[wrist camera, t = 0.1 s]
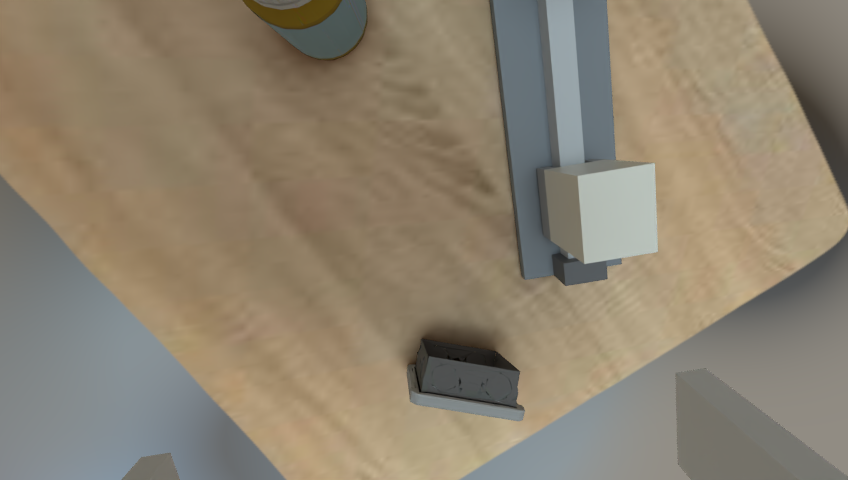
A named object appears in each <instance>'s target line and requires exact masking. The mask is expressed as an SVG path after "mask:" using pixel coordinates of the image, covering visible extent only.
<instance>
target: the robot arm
mask: <svg viewBox="0 0 848 480" xmlns="http://www.w3.org/2000/svg"><path fill="white" fill-rule="evenodd" d="M676 411H677V447H678V448H677V450H678V465H679V466H680V467H681V468H682V469H683V471H684V472H685V473H686V474H687V476H688V477H689V478H690V479H691V480H848V476H846V475H845V474H844V473H842V472H841V471H840V470H839V469H837V468H836V467H835V466H833V465H832V464H831V463H829V462H828V461H827V460H825V459H824V458H823V457H822V456H820V455H819V454H817V453H816V452H815V451H814V450H812V449H811V448H810V447H808V446H807V445H806V444H804V443H803V442H802V441H800V440H799V439H798V438H797V437H795V436H794V435H793V434H791V433H790V432H789V431H787V430H786V429H785V428H783V427H782V426H781V425H780V424H778V423H777V422H775V421H774V420H773V419H771V418H770V417H769V416H768V415H766V414H765V413H764V412H762V411H761V410H760V409H758V408H757V407H756V406H755V405H753V404H752V403H751V402H749V401H748V400H747V399H745V398H744V397H743V396H741V395H740V394H739V393H737V392H736V391H735V390H733V389H732V388H731V387H729V386H728V385H727V384H726V383H724V382H723V381H722V380H720V379H719V378H718V377H716V376H715V375H714V374H712V373H711V372H710V371H709V370H707V369H706V368H704V369H698V370H691V371H685V372H679V373H676ZM122 480H180V479H179V476H178V473H177V470H176V468H175V465H174V462H173V459H172V456H171V453H165V454H159V455H153V456H147V457H141V458H140V459H139V461H138V462H137V463H136V464H135V465H134V466H133V467H132V468H131V470H130V471H129V472H128V473H127V474H126V475H125V477H124V478H123V479H122Z"/></svg>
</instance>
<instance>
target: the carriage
mask: <svg viewBox="0 0 848 480" xmlns="http://www.w3.org/2000/svg"><path fill="white" fill-rule="evenodd" d="M537 176H538V186H539V196H540V206H541V216H542V225H543V235H544V236H545V237H546V238H548V239H549V240H551V241H552V242H553V243H555V244H556V245H558V246H559V247H561V248H562V249H564V250H565V251H566V252H568V253H569V254H571V255H572V256H574V257H575V258H577V259H578V260H579V261H581V262H582V263H584V264H588V263H594V262H600V261H606V260H612V259H618V258H624V257H630V256H636V255H642V254H649V253H655V252H658V244H657V216H656V187H655V163H647V162H634V161H620V160H606V159H590V160H585V163H581V164H575V165H569V166H563V167H557V168H555V167H549V166H548V167H542V168H537Z"/></svg>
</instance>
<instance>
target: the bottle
mask: <svg viewBox="0 0 848 480" xmlns="http://www.w3.org/2000/svg"><path fill="white" fill-rule="evenodd" d="M243 2H244V3H245V4H246V5H247V6H248V7H249V8H250V10H251V11H252V12H254V13H255V14H256V15H257V16H258V17H260V18H261V19H262V20H263V21H264V22H266V23H267V24H268V25H269V26H270V27H272V28H273V29H274V30H275V31H276V32H278V33H279V34H280V35H281V36H282V37H284V38H285V39H286V40H287V41H288V42H290V43H291V44H292V45H293V46H295V47H296V48H297V49H298V50H300V51H301V52H302V53H304V54H306V55H308V56H310V57H313V58H316V59H320V60H333V59H336V58H339V57H342V56H345V55H346V54H348V53H349V52H350V51H352V50H353V49H354V48H355V47H356V46H357V44H358V43H359V41H360V40H361V38H362V37H363V35H364V31H365V28H366V24H367V6H366V2H365V0H243Z"/></svg>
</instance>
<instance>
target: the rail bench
mask: <svg viewBox="0 0 848 480" xmlns="http://www.w3.org/2000/svg"><path fill="white" fill-rule="evenodd" d="M490 7H491V16H492V24H493V33H494V42H495V50H496V59H497V68H498V76H499V85H500V93H501V102H502V111H503V119H504V128H505V137H506V145H507V154H508V162H509V171H510V180H511V188H512V197H513V206H514V214H515V223H516V231H517V240H518V249H519V257H520V266H521V275H522V277H523V278H524V279H525V280H527V279H533V278H539V277H545V276H551V275H554V276H555V277H557V278H558V279H559V280H560V281H561V282H562V283H563V284H564V285H565V286H568V285H574V284H580V283H587V282H593V281H599V280H605V279H607V266H612V265H618V264H622V263H621V258H618V259H612V260H606V261H600V262H594V263H588V264H584V263H582V262H581V261H579V260H578V259H577V258H575V257H574V256H572V255H571V254H569V253H568V252H566V251H565V250H564V249H562V248H561V247H559V246H558V245H556V244H555V243H553V242H552V241H551V240H549V239H548V238H546V237H545V236H544V235H543V225H542V216H541V206H540V196H539V186H538V176H537V168H542V167H548V166H549V167H555V168H557V167H563V166H569V165H575V164H581V163H585V160H590V159H606V160H616V157H615V140H614V122H613V104H612V87H611V69H610V52H609V34H608V16H607V0H490Z"/></svg>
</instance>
